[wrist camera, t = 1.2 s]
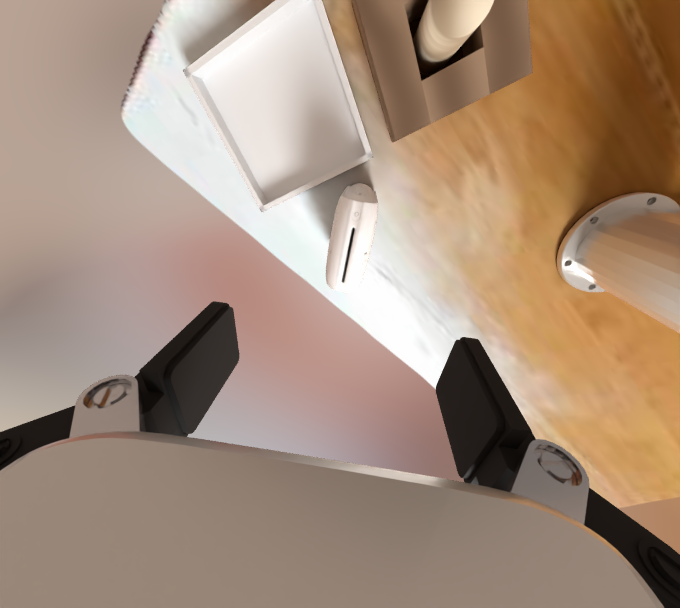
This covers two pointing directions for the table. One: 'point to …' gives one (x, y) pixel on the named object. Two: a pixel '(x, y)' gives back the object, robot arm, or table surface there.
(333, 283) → the photo printer
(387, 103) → the holder
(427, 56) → the dowel
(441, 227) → the table surface
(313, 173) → the tray
